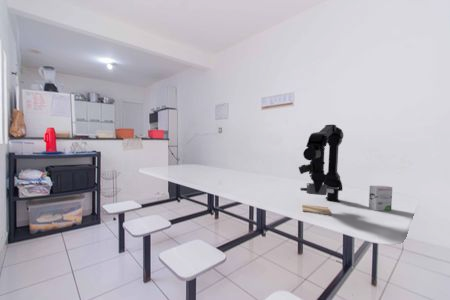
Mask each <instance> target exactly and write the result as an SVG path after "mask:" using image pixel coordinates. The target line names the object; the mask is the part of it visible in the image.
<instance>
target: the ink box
mask: <svg viewBox="0 0 450 300" xmlns="http://www.w3.org/2000/svg"><path fill="white" fill-rule="evenodd" d="M368 195H369V198H368V208H369V209H370V210H373V211H375V212H377V211H378V212H379V211H392V205H393V204H392V203H393V202H392V201H393V200H392V199H393V187H392V186H389V185H369V194H368Z"/></svg>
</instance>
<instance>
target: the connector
mask: <svg viewBox="0 0 450 300" xmlns="http://www.w3.org/2000/svg"><path fill="white" fill-rule="evenodd" d="M300 191H302V192H303V191H304V192H306V194H307V195H316V196H317V195H318V196H327V193H334V190H333V189H329V188H327V185H325V184H324V183H323V184H322V186H321V188H320V190H319V192H318V193H316V192H315V186H314V183H313V182H308V183H306V187H300Z"/></svg>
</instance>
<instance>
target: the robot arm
mask: <svg viewBox="0 0 450 300" xmlns="http://www.w3.org/2000/svg"><path fill="white" fill-rule="evenodd" d="M343 139H344V131H343V130H342V129H341V128H339V127H338V126H337V125H336V124H326V125H325V126H324V127H323V128H322V129H321V130H320V131H317V132H312V133H311V134H310V136H309V137H308V141H307V143H306V148H305V149H304V151H303V153H302V154H303V157H304V159H305V160H306V161H310V162H309V163H308V164H305V163H304V164H302V165H301V166H298V171H299V173H300V175H303V174H306V173H308V174H309V177H310V180H312V183H314V186H315V192H316V193H318V192H319V190H320V188H321V186H322V184H325V185H327V188H329V189H333V190H334V193H327V195H326V197H325V199H326V201H329V202H330V201H331V202H340V199H339V192H343V183H342V180H341V176H340V174H339V172H338V164H339V163H338V162H339V146H340V145H341V144H342V142H343ZM327 145H328V147H329V148H328V149H329V150H328V168H327V169H328V170H327V172H326V173H325V163H326V161H325V150H326V147H327Z"/></svg>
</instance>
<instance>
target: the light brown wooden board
mask: <svg viewBox="0 0 450 300" xmlns="http://www.w3.org/2000/svg"><path fill="white" fill-rule="evenodd" d="M301 208H302V212H303V213H312V214H318V215H319V214H321V215H329V216H331V214H332V213H331V211H330V208H329V207H327V206H318V205H311V204H310V205H309V204H302V205H301Z"/></svg>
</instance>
